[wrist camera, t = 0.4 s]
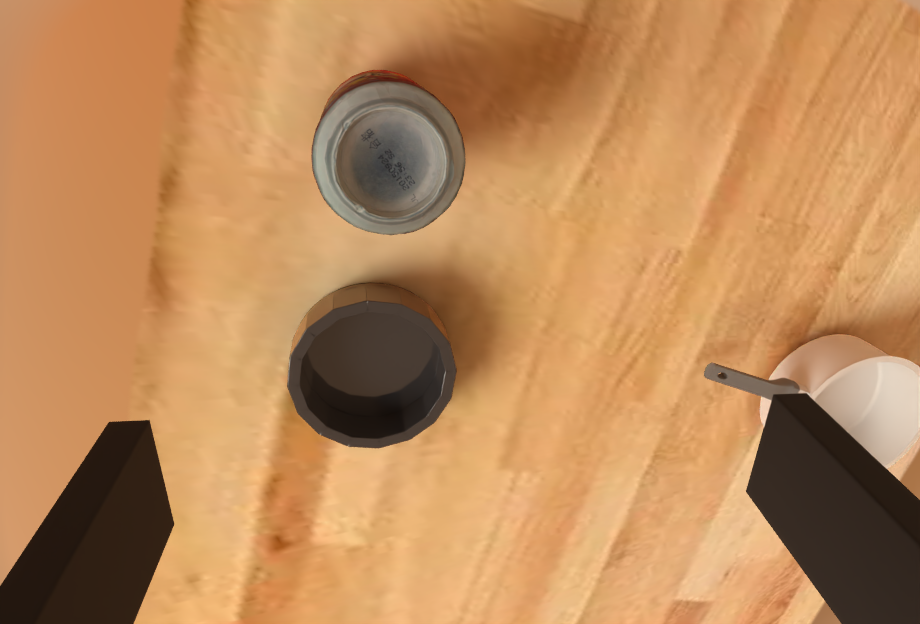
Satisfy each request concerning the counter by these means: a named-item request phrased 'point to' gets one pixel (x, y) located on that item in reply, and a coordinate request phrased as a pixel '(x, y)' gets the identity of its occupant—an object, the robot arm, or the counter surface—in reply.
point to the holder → (371, 366)
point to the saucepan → (846, 390)
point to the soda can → (387, 154)
